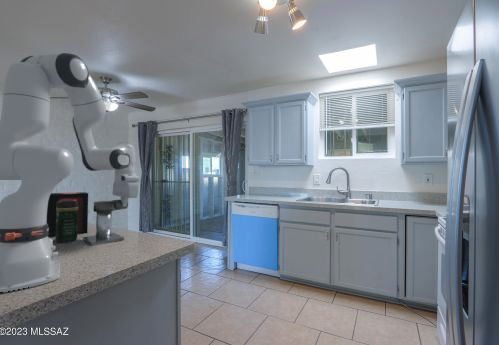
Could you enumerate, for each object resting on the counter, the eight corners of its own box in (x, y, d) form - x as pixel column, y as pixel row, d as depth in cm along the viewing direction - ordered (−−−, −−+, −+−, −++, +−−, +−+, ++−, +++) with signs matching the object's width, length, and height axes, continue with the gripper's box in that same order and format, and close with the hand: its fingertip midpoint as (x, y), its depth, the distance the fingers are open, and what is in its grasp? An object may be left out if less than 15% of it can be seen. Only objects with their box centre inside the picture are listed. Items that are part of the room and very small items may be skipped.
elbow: (101, 213, 111) (101, 202, 111) (89, 212, 115) (89, 201, 115) (130, 209, 124) (130, 199, 124) (118, 208, 128) (119, 198, 128)
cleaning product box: (45, 237, 118) (46, 194, 119) (45, 234, 125) (46, 193, 125) (87, 233, 129) (88, 193, 129) (84, 230, 136) (85, 192, 136)
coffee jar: (79, 241, 114) (80, 199, 114) (56, 244, 108) (57, 200, 109) (75, 237, 121) (76, 197, 121) (54, 239, 116) (55, 198, 116)
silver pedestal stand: (124, 240, 117) (124, 211, 117) (91, 245, 107) (92, 214, 107) (113, 235, 126) (114, 208, 126) (82, 239, 116) (83, 211, 117)
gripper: (109, 176, 127) (108, 204, 127) (127, 177, 113) (126, 209, 113) (122, 177, 132) (122, 203, 132) (141, 177, 118) (140, 207, 118)
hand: (124, 206), depth 122 cm, fingers closed, pressing on elbow
